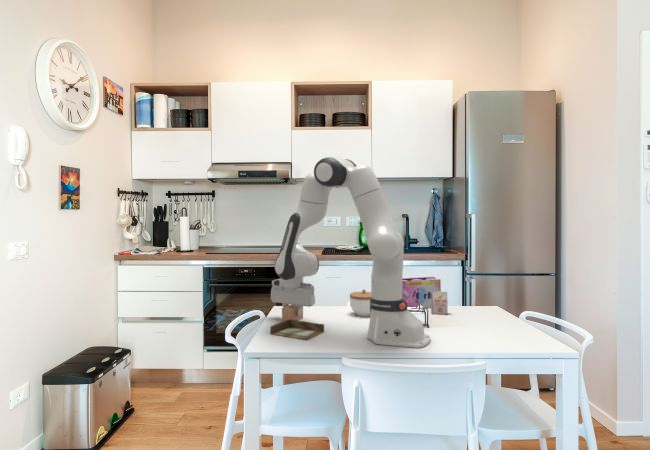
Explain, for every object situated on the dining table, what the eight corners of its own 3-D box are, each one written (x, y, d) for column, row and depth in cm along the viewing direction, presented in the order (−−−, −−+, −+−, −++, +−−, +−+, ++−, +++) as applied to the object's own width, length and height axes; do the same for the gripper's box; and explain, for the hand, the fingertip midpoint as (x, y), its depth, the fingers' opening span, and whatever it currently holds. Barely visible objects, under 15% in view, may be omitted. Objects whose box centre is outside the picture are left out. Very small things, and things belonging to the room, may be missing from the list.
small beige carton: (431, 312, 187) (431, 290, 187) (446, 313, 185) (446, 291, 185) (431, 314, 183) (431, 292, 183) (447, 315, 182) (447, 292, 182)
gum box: (435, 303, 205) (435, 276, 205) (443, 307, 198) (444, 279, 198) (391, 306, 199) (391, 278, 199) (398, 310, 192) (398, 281, 191)
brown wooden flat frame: (324, 332, 155) (324, 324, 155) (307, 340, 144) (307, 332, 144) (288, 326, 162) (288, 319, 162) (270, 334, 152) (270, 326, 152)
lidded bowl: (349, 311, 189) (349, 287, 189) (376, 311, 189) (376, 287, 188) (349, 317, 177) (350, 292, 176) (379, 318, 176) (379, 292, 176)
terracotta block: (303, 318, 176) (303, 304, 175) (290, 323, 167) (290, 308, 167) (295, 317, 178) (295, 303, 177) (281, 322, 169) (281, 307, 169)
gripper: (317, 282, 170) (317, 316, 170) (277, 279, 179) (277, 310, 180) (310, 285, 164) (310, 319, 164) (268, 281, 174) (268, 313, 174)
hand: (292, 314), depth 172 cm, fingers closed on terracotta block, 4 cm apart
